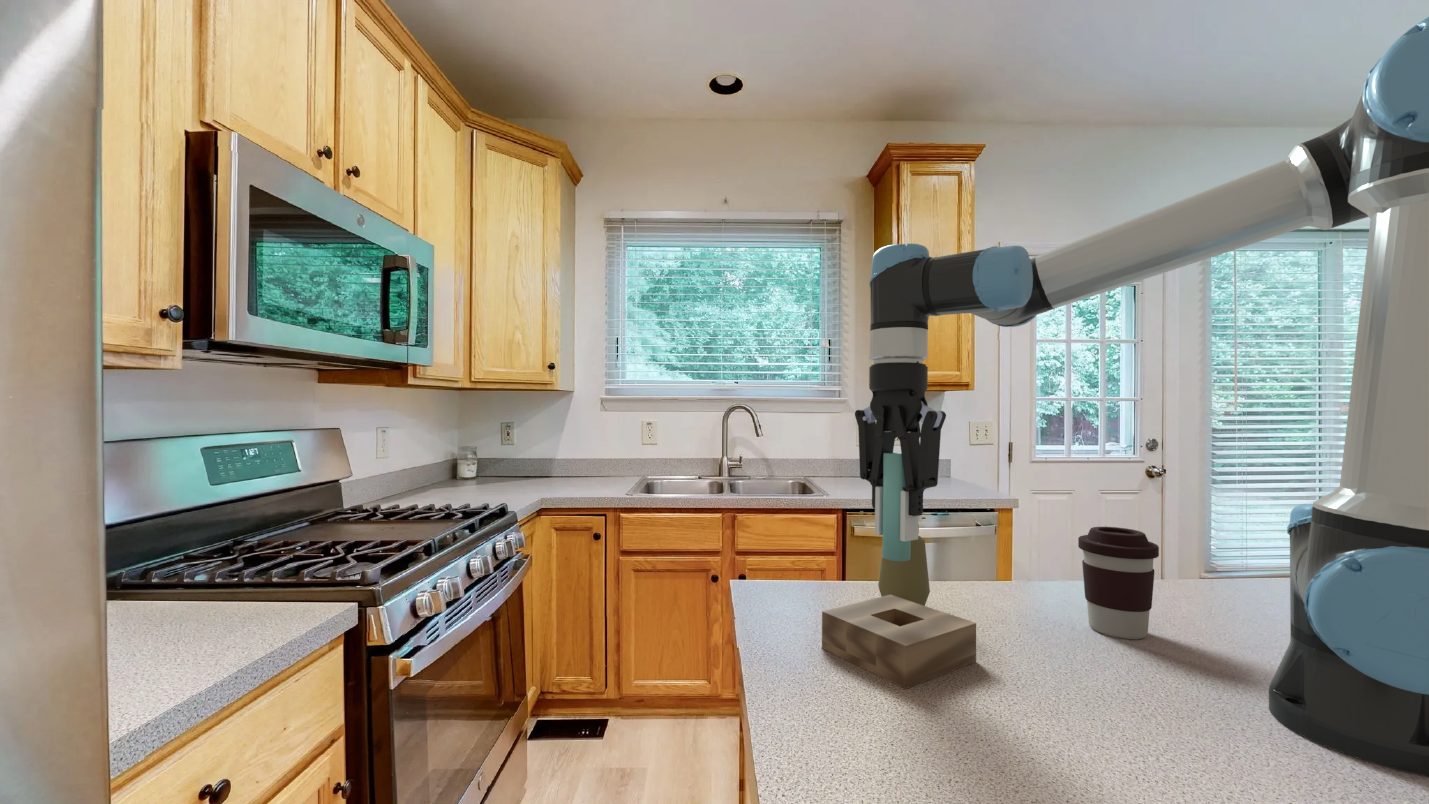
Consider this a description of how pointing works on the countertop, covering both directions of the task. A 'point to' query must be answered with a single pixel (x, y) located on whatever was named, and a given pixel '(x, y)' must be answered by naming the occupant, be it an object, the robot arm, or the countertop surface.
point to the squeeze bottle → (906, 575)
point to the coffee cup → (1118, 580)
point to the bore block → (899, 639)
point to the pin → (893, 508)
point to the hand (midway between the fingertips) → (896, 536)
